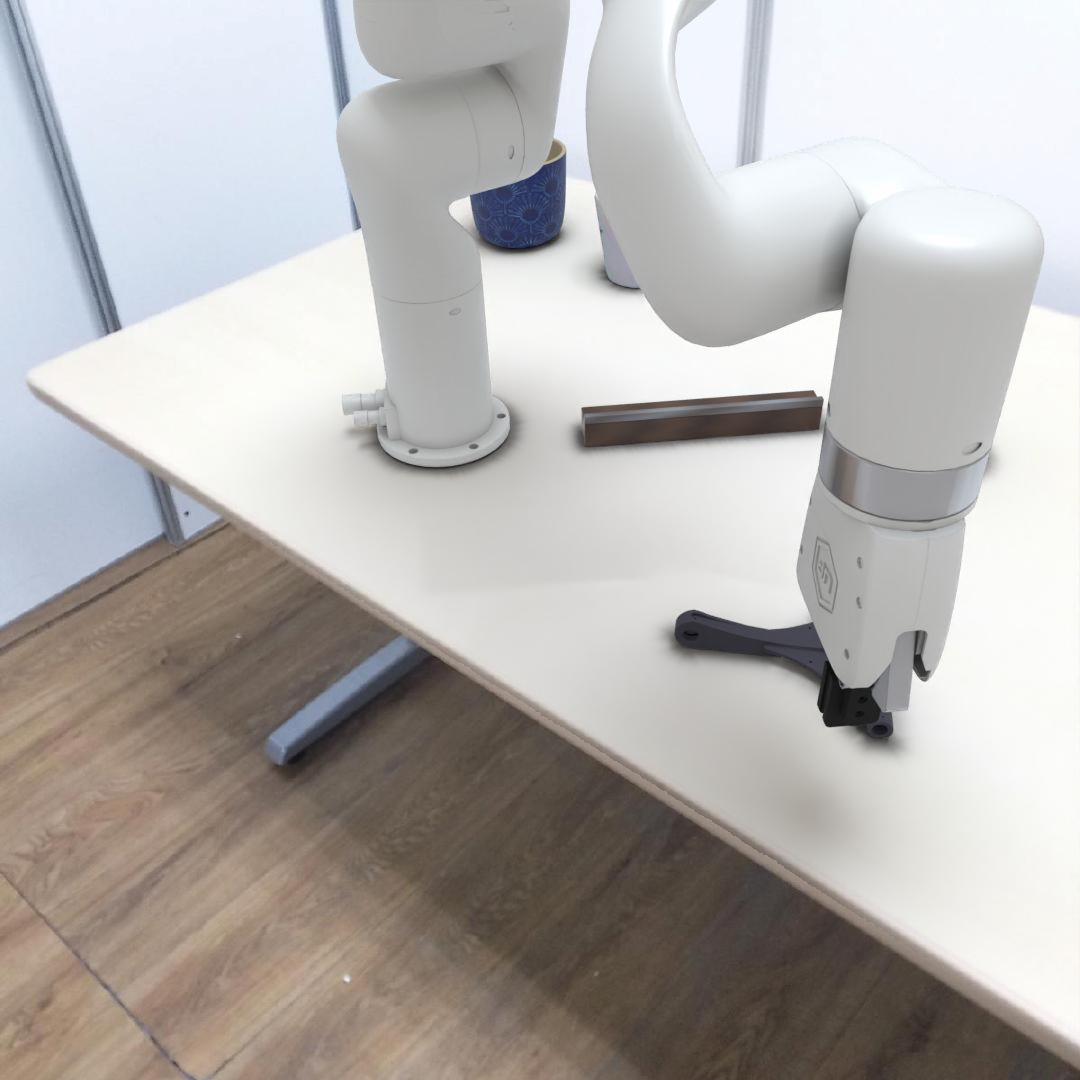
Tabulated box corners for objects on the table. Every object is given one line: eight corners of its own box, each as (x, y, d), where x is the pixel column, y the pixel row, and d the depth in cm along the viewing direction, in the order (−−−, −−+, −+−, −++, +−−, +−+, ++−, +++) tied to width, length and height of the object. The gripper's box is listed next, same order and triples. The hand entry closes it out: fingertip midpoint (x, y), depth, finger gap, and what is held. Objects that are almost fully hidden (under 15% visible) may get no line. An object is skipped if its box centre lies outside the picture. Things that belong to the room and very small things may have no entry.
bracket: (682, 575, 82) (684, 549, 80) (877, 593, 79) (883, 566, 77) (665, 715, 71) (667, 688, 69) (891, 741, 68) (898, 713, 67)
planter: (581, 222, 136) (580, 137, 129) (548, 261, 127) (545, 172, 120) (494, 212, 139) (488, 129, 132) (456, 249, 130) (448, 162, 123)
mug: (624, 249, 129) (626, 168, 122) (732, 276, 122) (739, 193, 115) (577, 281, 122) (576, 198, 116) (688, 312, 115) (693, 226, 109)
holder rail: (585, 447, 96) (584, 417, 94) (581, 429, 98) (581, 399, 96) (819, 429, 97) (824, 399, 94) (810, 412, 99) (814, 382, 97)
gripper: (783, 385, 55) (753, 633, 67) (875, 566, 44) (820, 827, 55) (921, 374, 55) (868, 623, 67) (1049, 551, 44) (958, 814, 55)
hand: (846, 714), depth 61 cm, fingers closed
